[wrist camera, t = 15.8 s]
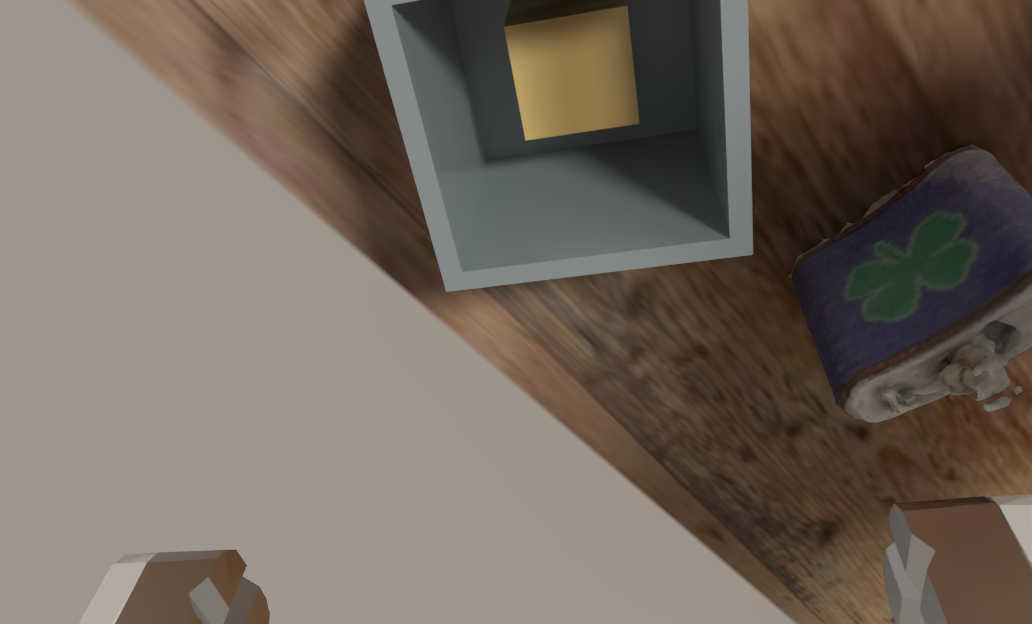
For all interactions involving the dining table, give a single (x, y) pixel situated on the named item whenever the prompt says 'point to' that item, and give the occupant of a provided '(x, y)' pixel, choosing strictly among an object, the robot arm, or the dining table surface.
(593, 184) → the grey open box
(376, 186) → the dining table surface
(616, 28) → the block
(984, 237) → the flask
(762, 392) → the dining table surface
